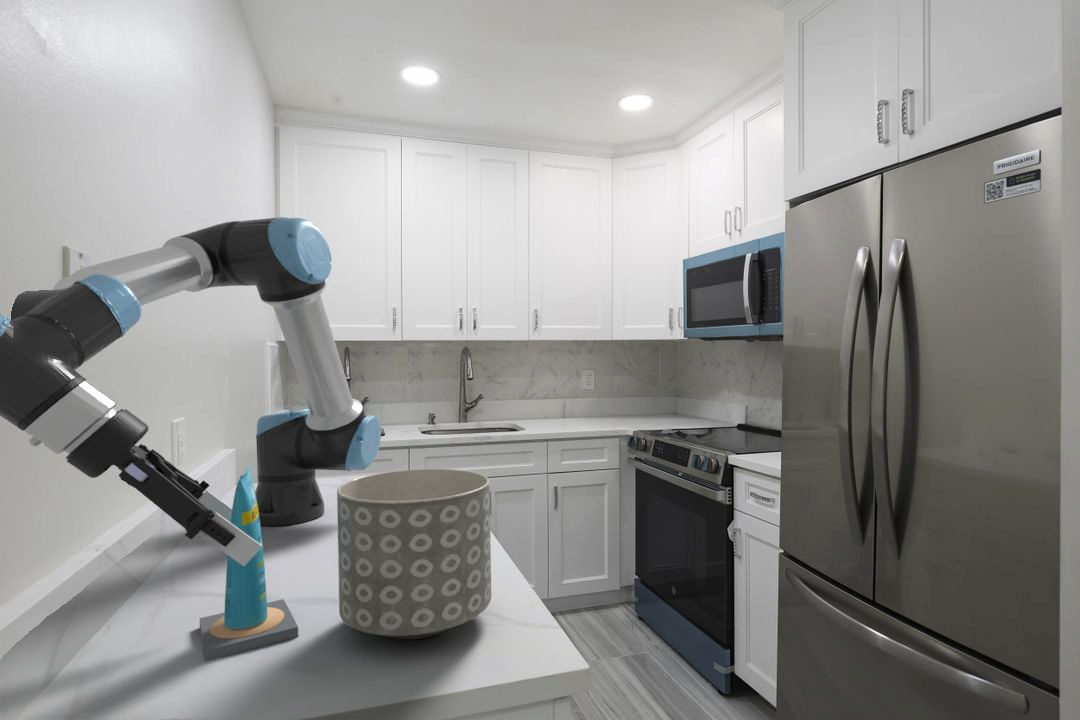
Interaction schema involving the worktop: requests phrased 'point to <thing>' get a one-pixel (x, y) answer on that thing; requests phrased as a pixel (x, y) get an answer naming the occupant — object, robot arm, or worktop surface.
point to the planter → (413, 551)
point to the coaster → (246, 632)
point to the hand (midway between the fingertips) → (245, 540)
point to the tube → (249, 580)
